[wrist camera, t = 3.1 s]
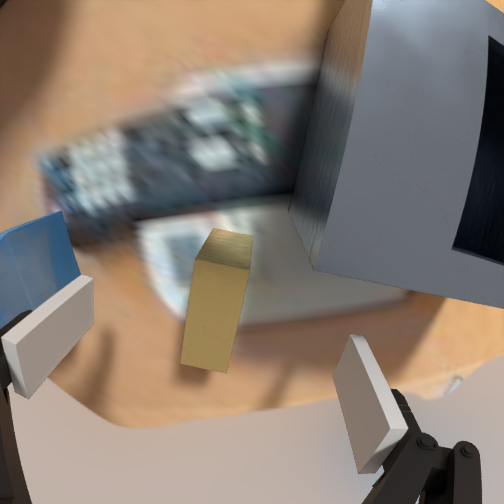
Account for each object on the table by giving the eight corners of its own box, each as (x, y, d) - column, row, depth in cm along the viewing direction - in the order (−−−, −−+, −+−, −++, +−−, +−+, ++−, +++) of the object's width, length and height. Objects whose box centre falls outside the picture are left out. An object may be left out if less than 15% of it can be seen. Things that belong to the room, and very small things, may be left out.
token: (199, 311, 22) (180, 363, 16) (213, 227, 20) (195, 258, 14) (234, 319, 22) (226, 373, 16) (252, 235, 20) (249, 270, 15)
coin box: (288, 211, 20) (313, 269, 10) (328, 30, 16) (379, -53, 6) (466, 257, 20) (554, 318, 11) (500, 106, 17) (599, 104, 7)
